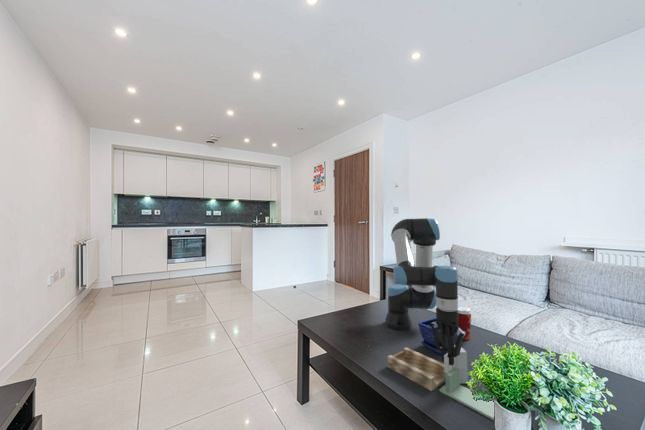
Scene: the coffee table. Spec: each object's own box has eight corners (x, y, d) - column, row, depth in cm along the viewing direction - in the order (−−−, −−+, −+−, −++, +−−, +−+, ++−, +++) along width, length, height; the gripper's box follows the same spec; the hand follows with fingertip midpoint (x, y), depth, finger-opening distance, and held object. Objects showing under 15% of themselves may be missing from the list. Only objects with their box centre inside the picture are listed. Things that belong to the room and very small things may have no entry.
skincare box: (449, 374, 106) (448, 344, 106) (459, 374, 106) (459, 344, 107) (457, 384, 100) (456, 352, 100) (468, 383, 100) (467, 352, 100)
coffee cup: (474, 341, 134) (474, 311, 134) (457, 340, 136) (456, 311, 136) (469, 334, 142) (468, 306, 143) (452, 333, 144) (452, 305, 144)
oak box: (387, 367, 112) (387, 356, 112) (406, 357, 120) (406, 347, 120) (431, 391, 96) (431, 378, 96) (449, 378, 104) (449, 366, 104)
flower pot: (440, 358, 119) (440, 331, 119) (417, 345, 131) (417, 321, 131) (459, 351, 125) (459, 325, 125) (436, 339, 137) (435, 316, 137)
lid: (439, 392, 96) (439, 372, 96) (451, 383, 101) (450, 364, 101) (493, 421, 82) (492, 398, 82) (503, 409, 87) (503, 387, 87)
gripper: (425, 306, 101) (426, 368, 101) (459, 315, 91) (461, 384, 90) (435, 302, 106) (437, 361, 105) (469, 310, 95) (471, 376, 95)
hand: (448, 372), depth 98 cm, fingers closed
